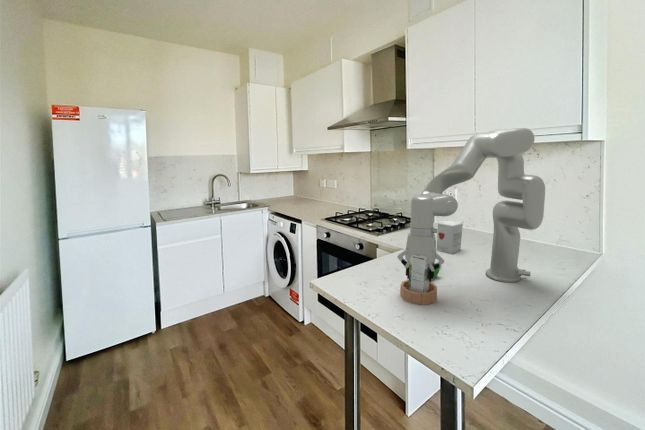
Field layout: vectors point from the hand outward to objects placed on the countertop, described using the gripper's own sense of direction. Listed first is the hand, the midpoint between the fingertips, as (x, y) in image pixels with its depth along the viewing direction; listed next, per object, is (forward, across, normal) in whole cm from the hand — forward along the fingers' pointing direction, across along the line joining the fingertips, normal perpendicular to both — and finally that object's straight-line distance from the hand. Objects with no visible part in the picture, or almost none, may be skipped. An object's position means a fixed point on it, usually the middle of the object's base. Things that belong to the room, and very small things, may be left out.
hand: (419, 278), depth 114 cm
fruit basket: (+7, 0, -19) cm, 20 cm away
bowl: (+7, 0, 0) cm, 7 cm away
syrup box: (+5, 0, 0) cm, 5 cm away
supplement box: (+7, -8, -60) cm, 61 cm away
